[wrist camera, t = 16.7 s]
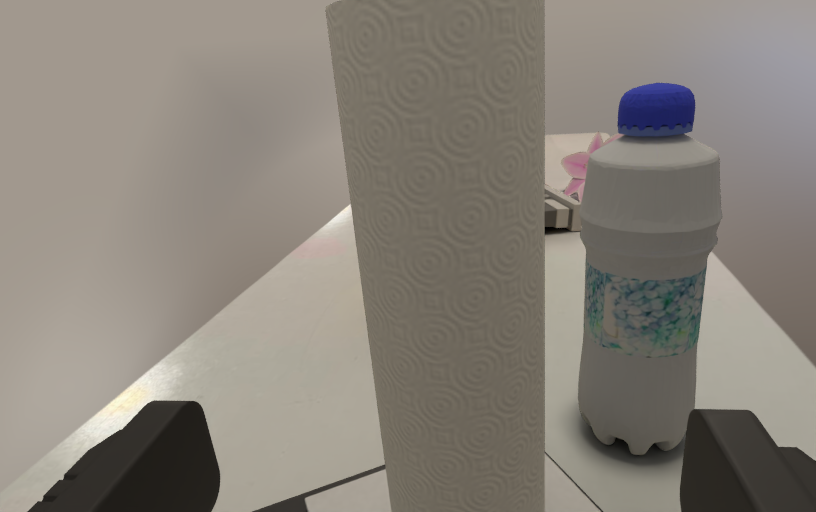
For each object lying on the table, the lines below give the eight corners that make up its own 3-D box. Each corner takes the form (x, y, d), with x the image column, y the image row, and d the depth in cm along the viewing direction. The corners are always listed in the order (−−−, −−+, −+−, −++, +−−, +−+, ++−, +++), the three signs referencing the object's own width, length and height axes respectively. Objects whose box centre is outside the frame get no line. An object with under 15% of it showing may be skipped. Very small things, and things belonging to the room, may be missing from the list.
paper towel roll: (410, 638, 19) (325, -18, 12) (389, 509, 25) (322, 7, 18) (598, 596, 20) (629, -42, 13) (536, 480, 26) (533, -10, 18)
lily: (562, 193, 87) (540, 146, 82) (635, 162, 83) (617, 111, 78) (577, 238, 78) (553, 188, 73) (660, 205, 74) (641, 150, 68)
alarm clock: (583, 204, 65) (453, 211, 63) (580, 240, 67) (452, 248, 64) (530, 176, 81) (424, 181, 79) (528, 206, 83) (424, 211, 80)
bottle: (623, 383, 37) (642, 76, 30) (719, 436, 31) (771, 74, 24) (550, 421, 34) (552, 90, 27) (642, 487, 28) (676, 91, 21)
